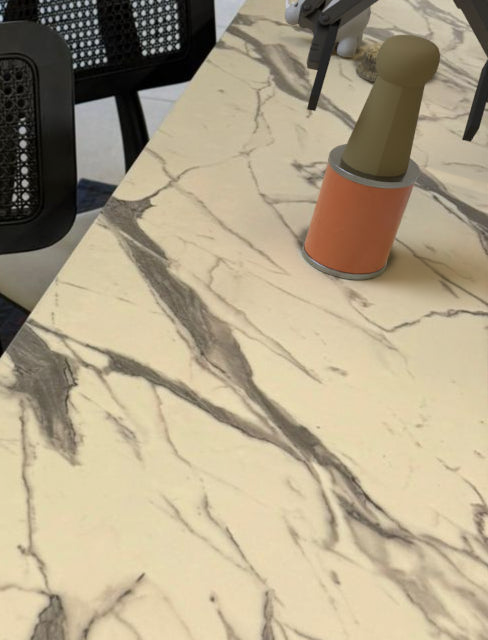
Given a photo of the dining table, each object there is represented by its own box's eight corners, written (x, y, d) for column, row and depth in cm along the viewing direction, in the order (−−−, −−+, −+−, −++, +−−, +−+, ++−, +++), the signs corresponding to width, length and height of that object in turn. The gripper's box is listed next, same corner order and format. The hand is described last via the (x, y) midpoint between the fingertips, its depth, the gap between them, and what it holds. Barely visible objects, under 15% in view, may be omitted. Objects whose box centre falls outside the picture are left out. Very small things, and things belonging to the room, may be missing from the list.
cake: (351, 86, 138) (360, 45, 134) (357, 63, 145) (365, 23, 141) (429, 94, 135) (440, 52, 132) (431, 71, 142) (441, 30, 139)
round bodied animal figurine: (285, 30, 151) (299, -32, 146) (364, 49, 148) (383, -14, 142) (270, 43, 147) (285, -20, 141) (352, 63, 143) (371, -1, 137)
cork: (352, 141, 97) (389, 22, 90) (415, 160, 95) (458, 38, 88) (333, 163, 93) (369, 39, 86) (398, 183, 91) (441, 57, 84)
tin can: (394, 253, 102) (428, 158, 96) (373, 289, 97) (408, 191, 90) (315, 229, 105) (343, 135, 98) (290, 262, 99) (318, 165, 93)
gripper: (588, -61, 91) (525, 165, 90) (309, -104, 96) (247, 109, 95) (622, -116, 84) (554, 129, 83) (318, -160, 89) (251, 71, 88)
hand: (390, 119), depth 89 cm, fingers open, 13 cm apart
